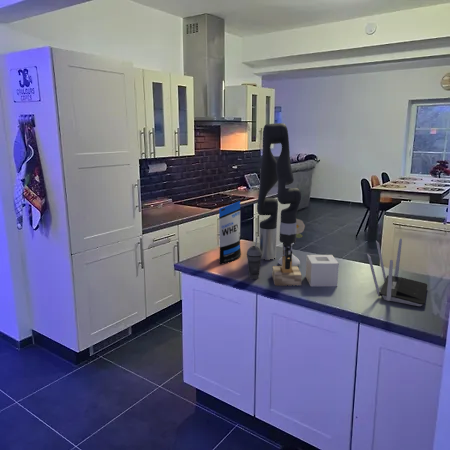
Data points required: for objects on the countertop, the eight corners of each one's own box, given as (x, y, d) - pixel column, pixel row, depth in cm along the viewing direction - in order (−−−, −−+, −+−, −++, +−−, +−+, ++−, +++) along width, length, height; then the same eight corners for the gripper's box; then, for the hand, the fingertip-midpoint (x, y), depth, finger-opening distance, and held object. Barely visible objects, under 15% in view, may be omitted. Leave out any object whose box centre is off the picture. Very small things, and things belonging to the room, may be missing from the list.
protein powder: (212, 263, 209) (211, 207, 202) (232, 250, 230) (232, 200, 222) (227, 265, 205) (227, 209, 197) (247, 252, 225) (248, 201, 218)
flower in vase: (276, 267, 202) (277, 220, 196) (280, 260, 212) (281, 215, 206) (301, 270, 198) (303, 222, 192) (304, 262, 208) (306, 216, 202)
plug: (281, 272, 186) (282, 251, 184) (290, 272, 186) (290, 251, 184) (282, 275, 182) (283, 254, 180) (291, 275, 182) (292, 254, 180)
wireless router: (423, 314, 151) (429, 265, 146) (360, 302, 162) (364, 256, 157) (427, 284, 179) (433, 242, 175) (374, 275, 190) (378, 235, 186)
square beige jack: (272, 275, 191) (272, 266, 190) (297, 275, 191) (297, 266, 189) (274, 285, 179) (275, 275, 178) (301, 285, 179) (301, 275, 178)
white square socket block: (305, 276, 190) (306, 254, 187) (330, 276, 189) (332, 254, 187) (310, 286, 178) (311, 263, 175) (337, 286, 178) (338, 263, 175)
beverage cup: (250, 273, 194) (251, 234, 189) (264, 276, 190) (264, 236, 185) (243, 278, 188) (243, 238, 183) (257, 281, 184) (258, 240, 179)
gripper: (277, 227, 186) (277, 262, 190) (281, 235, 172) (280, 272, 176) (293, 227, 186) (292, 262, 190) (298, 235, 172) (297, 272, 176)
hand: (286, 266), depth 183 cm, fingers open, 4 cm apart
